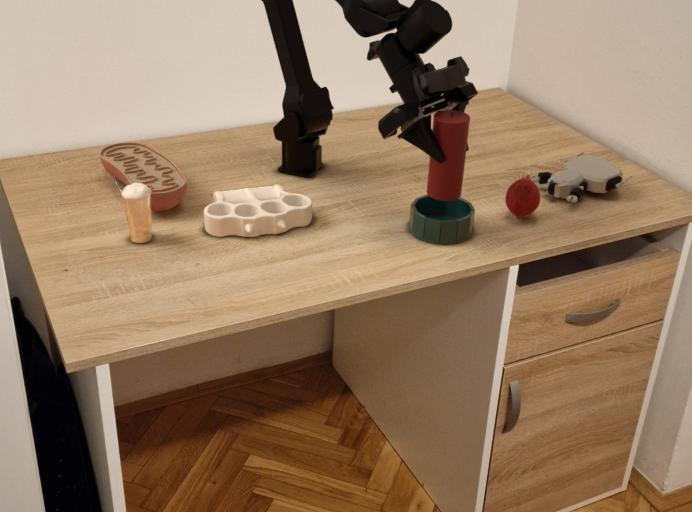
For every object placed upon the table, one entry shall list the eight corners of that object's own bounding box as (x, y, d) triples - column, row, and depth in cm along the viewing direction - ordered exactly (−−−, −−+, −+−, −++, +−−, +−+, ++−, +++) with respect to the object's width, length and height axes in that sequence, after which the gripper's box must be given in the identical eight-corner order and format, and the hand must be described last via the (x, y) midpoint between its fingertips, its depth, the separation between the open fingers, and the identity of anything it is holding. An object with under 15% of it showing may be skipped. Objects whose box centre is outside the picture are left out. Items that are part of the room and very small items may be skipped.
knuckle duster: (296, 195, 164) (321, 232, 153) (194, 207, 159) (212, 247, 148) (296, 177, 162) (321, 214, 151) (193, 188, 157) (211, 228, 146)
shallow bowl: (401, 236, 152) (403, 213, 150) (421, 211, 160) (423, 189, 158) (461, 249, 149) (464, 226, 147) (478, 223, 157) (481, 200, 155)
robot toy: (571, 218, 162) (632, 193, 168) (575, 194, 159) (636, 170, 165) (523, 191, 170) (583, 169, 176) (525, 168, 167) (586, 146, 174)
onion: (536, 227, 156) (543, 183, 152) (501, 223, 157) (508, 179, 153) (537, 212, 161) (544, 169, 157) (503, 208, 162) (509, 165, 157)
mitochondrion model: (95, 174, 169) (91, 148, 166) (146, 163, 173) (144, 137, 170) (146, 225, 153) (143, 197, 150) (201, 211, 158) (199, 184, 155)
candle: (421, 196, 150) (429, 114, 142) (432, 183, 154) (440, 103, 146) (455, 203, 148) (464, 121, 140) (465, 189, 153) (475, 109, 145)
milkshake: (123, 232, 151) (116, 174, 145) (156, 231, 151) (151, 174, 146) (120, 245, 147) (113, 187, 141) (154, 245, 148) (148, 187, 142)
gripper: (397, 54, 134) (450, 149, 134) (475, 29, 146) (524, 117, 146) (355, 93, 143) (404, 182, 143) (431, 67, 154) (477, 149, 155)
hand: (454, 156), depth 147 cm, fingers closed on candle, 5 cm apart
